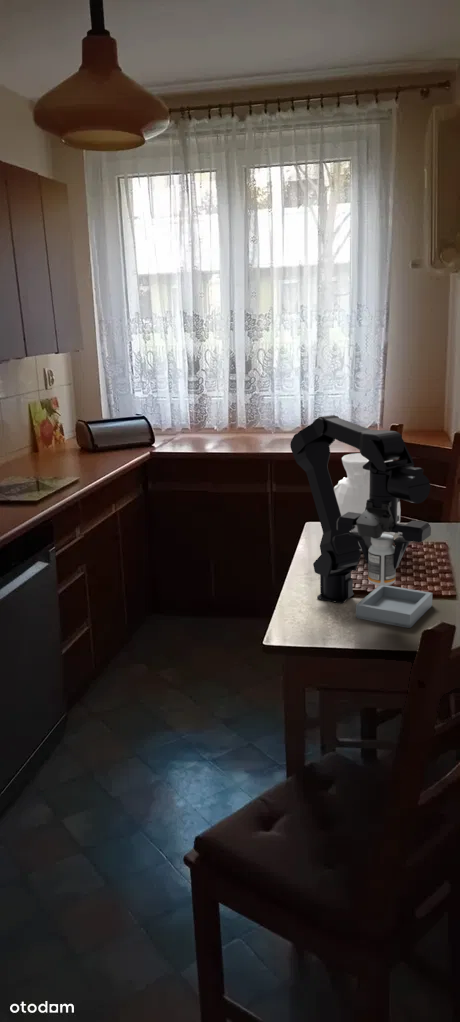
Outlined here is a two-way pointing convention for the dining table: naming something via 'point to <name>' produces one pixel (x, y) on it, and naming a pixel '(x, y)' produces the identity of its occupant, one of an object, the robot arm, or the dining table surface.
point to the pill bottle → (381, 560)
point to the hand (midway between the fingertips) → (382, 565)
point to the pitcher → (355, 487)
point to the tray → (394, 605)
